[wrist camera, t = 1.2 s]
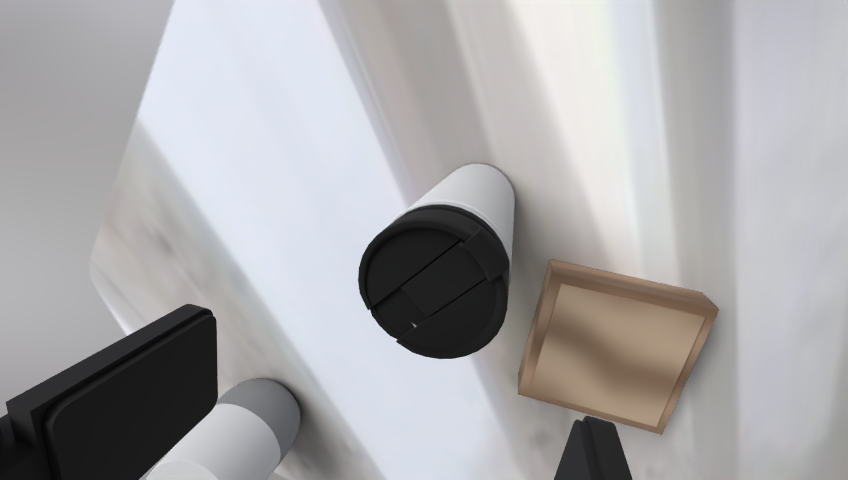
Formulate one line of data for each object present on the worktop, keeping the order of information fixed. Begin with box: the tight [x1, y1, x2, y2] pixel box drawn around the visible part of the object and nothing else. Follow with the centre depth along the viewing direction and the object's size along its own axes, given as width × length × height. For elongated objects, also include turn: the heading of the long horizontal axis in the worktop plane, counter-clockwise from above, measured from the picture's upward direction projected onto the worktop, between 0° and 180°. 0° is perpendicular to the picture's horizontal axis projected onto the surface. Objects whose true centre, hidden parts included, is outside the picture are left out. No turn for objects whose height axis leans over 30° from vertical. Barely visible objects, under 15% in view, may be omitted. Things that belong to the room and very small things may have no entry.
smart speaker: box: [146, 378, 300, 480], centre depth 40 cm, size 10×9×14 cm
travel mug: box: [358, 163, 515, 359], centre depth 24 cm, size 6×7×20 cm
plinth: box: [518, 259, 719, 435], centre depth 33 cm, size 12×12×3 cm
